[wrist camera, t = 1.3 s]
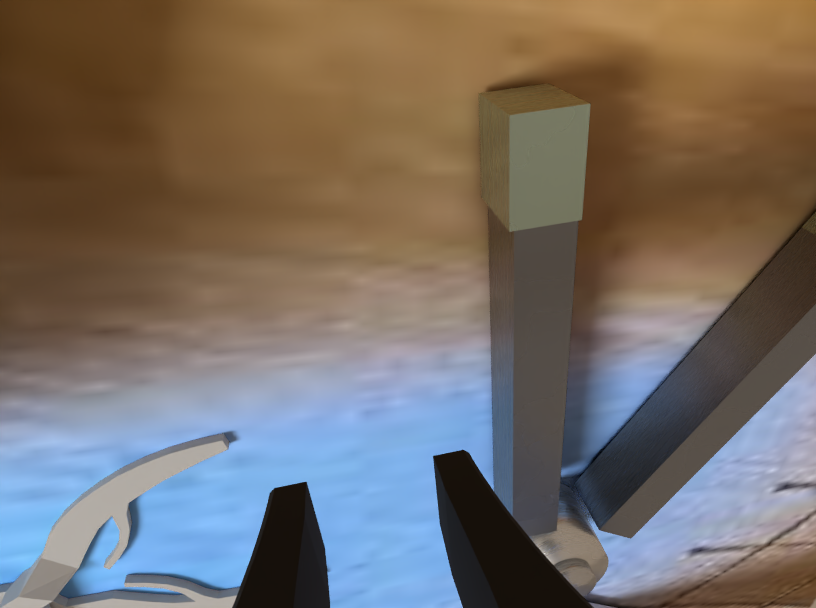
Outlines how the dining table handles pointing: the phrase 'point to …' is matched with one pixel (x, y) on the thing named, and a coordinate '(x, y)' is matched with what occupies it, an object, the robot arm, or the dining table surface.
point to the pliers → (74, 530)
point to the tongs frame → (692, 412)
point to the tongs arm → (531, 284)
